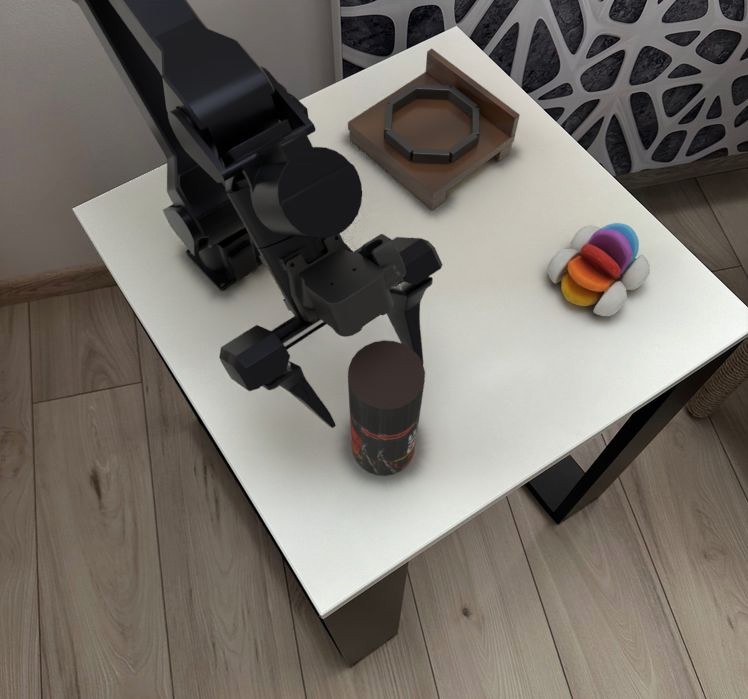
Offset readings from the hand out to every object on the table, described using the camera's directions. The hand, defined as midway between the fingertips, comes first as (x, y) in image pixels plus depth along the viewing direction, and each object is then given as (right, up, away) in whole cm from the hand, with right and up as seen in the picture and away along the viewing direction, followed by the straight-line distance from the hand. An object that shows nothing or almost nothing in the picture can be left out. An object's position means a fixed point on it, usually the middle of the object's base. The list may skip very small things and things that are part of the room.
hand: (376, 395), depth 64 cm
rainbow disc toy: (+23, +11, +17) cm, 31 cm away
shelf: (+6, +28, +25) cm, 38 cm away
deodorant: (+1, -5, +8) cm, 10 cm away
